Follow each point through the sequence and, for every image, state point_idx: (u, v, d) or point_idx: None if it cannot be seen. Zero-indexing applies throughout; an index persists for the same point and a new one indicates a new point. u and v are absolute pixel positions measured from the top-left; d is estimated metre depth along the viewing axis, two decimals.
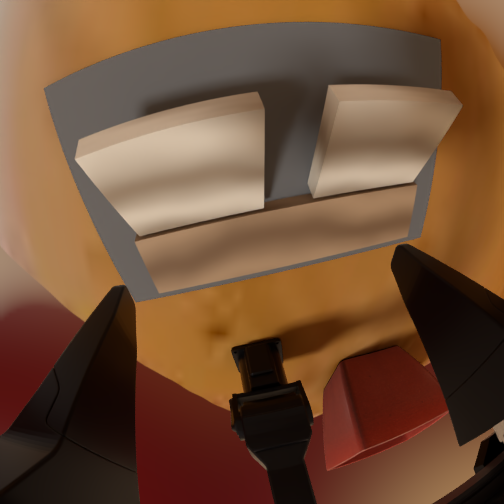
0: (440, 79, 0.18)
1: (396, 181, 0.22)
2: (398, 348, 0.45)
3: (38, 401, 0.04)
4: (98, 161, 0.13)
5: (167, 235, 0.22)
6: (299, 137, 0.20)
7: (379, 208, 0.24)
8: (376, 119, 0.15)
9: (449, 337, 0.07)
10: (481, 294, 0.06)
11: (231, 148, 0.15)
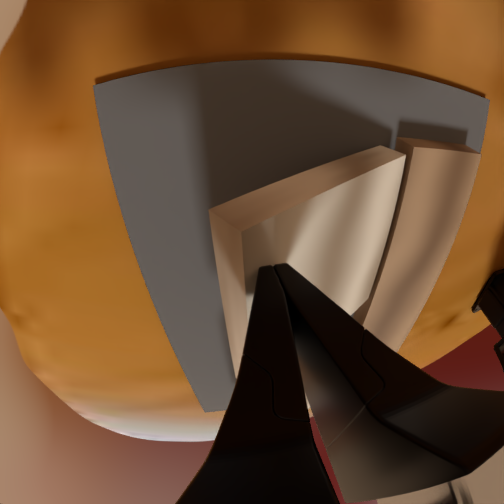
0: (188, 68, 0.09)
1: (394, 195, 0.13)
2: None
3: (248, 396, 0.05)
4: None
5: None
6: None
7: (421, 216, 0.14)
8: None
9: (316, 383, 0.06)
10: (351, 338, 0.06)
11: None
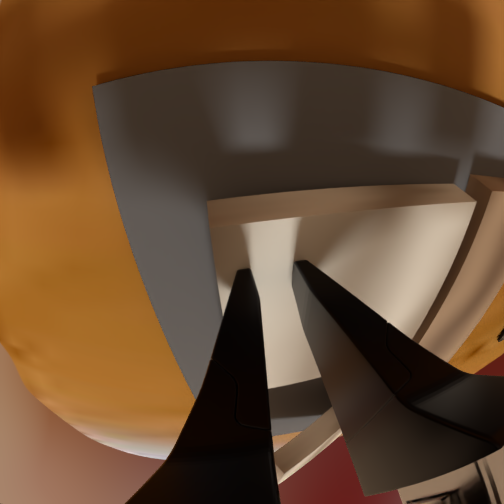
0: (232, 66, 0.07)
1: (453, 246, 0.10)
2: None
3: (211, 401, 0.04)
4: (284, 479, 0.19)
5: None
6: None
7: (482, 264, 0.11)
8: (269, 362, 0.12)
9: (339, 377, 0.06)
10: (376, 331, 0.06)
11: (312, 453, 0.15)
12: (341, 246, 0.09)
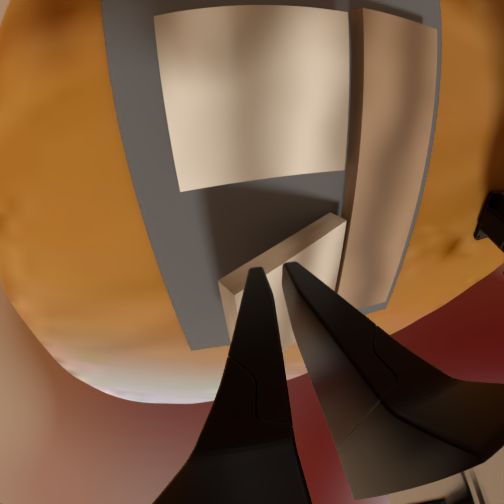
0: None
1: (340, 44, 0.12)
2: None
3: (232, 398, 0.04)
4: None
5: None
6: None
7: (389, 75, 0.13)
8: (201, 139, 0.14)
9: (327, 380, 0.06)
10: (363, 335, 0.06)
11: None
12: (234, 26, 0.11)
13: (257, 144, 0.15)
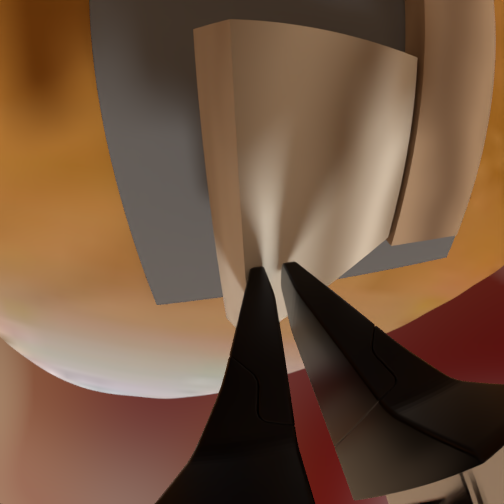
0: None
1: None
2: None
3: (233, 398, 0.04)
4: None
5: (404, 203, 0.14)
6: None
7: None
8: None
9: (326, 380, 0.06)
10: (362, 335, 0.06)
11: (314, 93, 0.07)
12: None
13: None
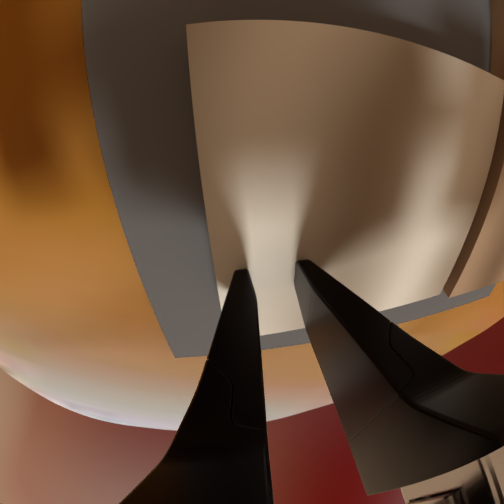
0: None
1: None
2: None
3: (207, 401, 0.04)
4: None
5: (472, 254, 0.10)
6: None
7: None
8: None
9: (342, 376, 0.06)
10: (379, 331, 0.06)
11: (310, 99, 0.06)
12: None
13: None
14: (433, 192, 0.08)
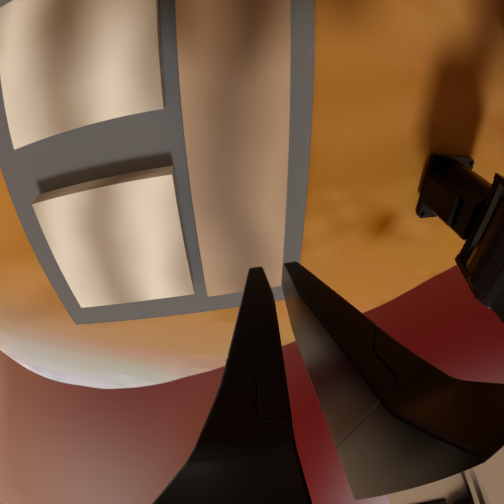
0: None
1: None
2: None
3: (232, 398, 0.04)
4: (84, 297, 0.20)
5: (205, 270, 0.21)
6: (103, 123, 0.14)
7: None
8: (24, 99, 0.11)
9: (327, 380, 0.06)
10: (363, 335, 0.06)
11: (69, 220, 0.16)
12: None
13: (66, 95, 0.11)
14: (140, 242, 0.18)
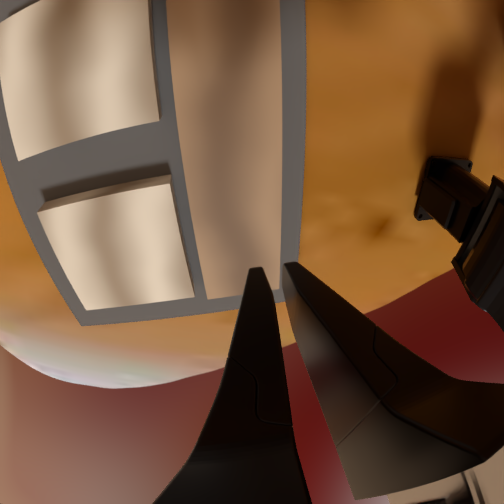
0: None
1: None
2: None
3: (232, 398, 0.04)
4: (88, 300, 0.21)
5: (204, 274, 0.22)
6: (102, 135, 0.15)
7: (201, 8, 0.11)
8: (26, 113, 0.11)
9: (327, 380, 0.06)
10: (363, 335, 0.06)
11: (73, 228, 0.17)
12: (44, 14, 0.08)
13: (66, 109, 0.12)
14: (140, 248, 0.19)
